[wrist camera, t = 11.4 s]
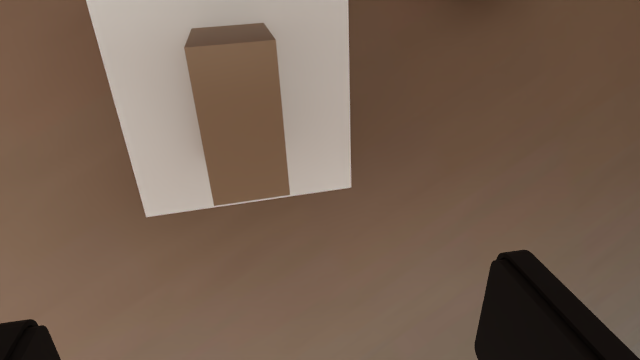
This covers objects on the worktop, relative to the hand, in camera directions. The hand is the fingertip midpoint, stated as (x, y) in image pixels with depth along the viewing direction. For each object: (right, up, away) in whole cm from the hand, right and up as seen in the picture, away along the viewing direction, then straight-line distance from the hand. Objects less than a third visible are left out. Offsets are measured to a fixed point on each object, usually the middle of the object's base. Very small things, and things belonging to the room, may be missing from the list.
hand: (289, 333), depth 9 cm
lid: (-5, +9, +18) cm, 20 cm away
